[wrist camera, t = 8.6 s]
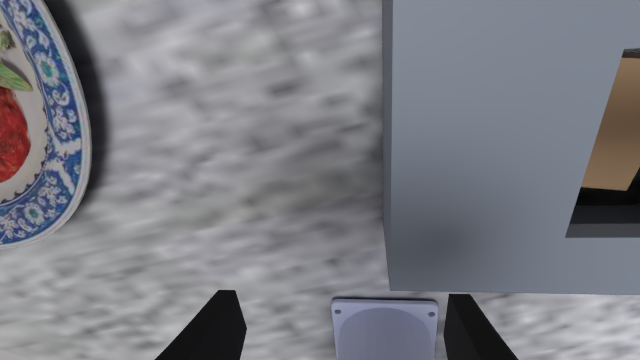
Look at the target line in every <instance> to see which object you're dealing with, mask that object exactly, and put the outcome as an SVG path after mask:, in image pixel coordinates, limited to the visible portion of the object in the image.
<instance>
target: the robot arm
mask: <svg viewBox="0 0 640 360" xmlns="http://www.w3.org/2000/svg"><path fill="white" fill-rule="evenodd" d="M337 309H338V310H337ZM331 311H332V320H333V330H334V339H335V348H336V358H337V360H435V356H434V350H435V341H436V331H437V322H438V313H439V307H438V304H437V303H436V302H434V301H405V300H361V299H334V300H333V301H332V303H331ZM430 312H431V313H430ZM246 330H247V327H246V324H245V321H244V318H243V314H242V311H241V308H240V304H239V301H238V298H237V295H236V291H235V290H218V291H217V292H216V293H215V295H214V296H213V297H212V298H211V299H210V300H209V301H208V302H207V304H206V305H205V306H204V307H203V308H202V309H201V310H200V312H199V313H198V314H197V315H196V316H195V317H194V318H193V319H192V321H191V322H190V323H189V324H188V325H187V326H186V327H185V328H184V329H183V330H182V332H181V333H180V334H179V335H178V336H177V337H176V338H175V339H174V340H173V341H172V342H171V343H170V345H169V346H168V347H167V348H166V349H165V350H164V351H163V352H162V353H161V354H160V355H159V356H158V357H157V358H156V359H155V360H240V356H241V352H242V348H243V344H244V340H245V335H246ZM444 341H445V347H446V352H447V357H448V360H518V358H517V357H516V356H515V355H514V353H513V352H512V351H511V350H510V348H509V347H508V346H507V345H506V343H505V342H504V341H503V339H502V338H501V337H500V335H499V334H498V333H497V331H496V330H495V329H494V327H493V326H492V325H491V323H490V322H489V321H488V319H487V318H486V316H485V315H484V313H483V312H482V311H481V309H480V308H479V306H478V305H477V303H476V302H475V300H474V299H473V297H472V296H471V295H469V294H449V298H448V306H447V313H446V320H445V328H444Z"/></svg>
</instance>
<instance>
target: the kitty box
mask: <svg viewBox="0 0 640 360" xmlns="http://www.w3.org/2000/svg"><path fill="white" fill-rule="evenodd" d="M382 39H383V226H384V236H385V246H386V255H387V265H388V275H389V285H390V291H443V292H497V293H550V294H604V295H640V205H592V206H575V204H576V200H577V197H578V194H579V191H580V188H581V184H582V181H583V178H584V175H585V172H586V169H587V165H588V162H589V159H590V156H591V153H592V149H593V146H594V143H595V140H596V137H597V134H598V130H599V127H600V124H601V121H602V118H603V115H604V111H605V108H606V105H607V102H608V99H609V95H610V92H611V89H612V86H613V83H614V80H615V76H616V73H617V70H618V67H619V64H620V60H621V57H622V54H623V51H624V49H634V48H640V0H382Z"/></svg>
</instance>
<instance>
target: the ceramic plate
mask: <svg viewBox="0 0 640 360" xmlns="http://www.w3.org/2000/svg"><path fill="white" fill-rule="evenodd" d="M91 160H92V139H91V127H90V121H89V115H88V108H87V104H86V101H85V97H84V93H83V89H82V85H81V82H80V79H79V76H78V74H77V71H76V68H75V65H74V62H73V59H72V57H71V55H70V52H69V50H68V48H67V46H66V43H65V41H64V39H63V36H62V34H61V32H60V30H59V28H58V26H57V24H56V22H55V20H54V19H53V17H52V15H51V13H50V11H49V9H48V7H47V5H46V4H45V2H44V0H0V249H9V248H17V247H21V246H25V245H30V244H33V243H35V242H38V241H40V240H42V239H44V238H46V237H48V236H50V235H51V234H53V233H54V232H55V231H57V230H58V229H59V228H60V227H61V226H62V225H63V224H64V223H65V222H66V221H67V220H68V219H69V218H70V217H71V216H72V215H73V213H74V212H75V211H76V209H77V208H78V206H79V204H80V202H81V200H82V198H83V196H84V194H85V190H86V187H87V184H88V181H89V175H90V170H91Z"/></svg>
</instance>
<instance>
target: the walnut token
mask: <svg viewBox="0 0 640 360" xmlns="http://www.w3.org/2000/svg"><path fill="white" fill-rule="evenodd" d="M639 167H640V53H625V52H623V54H622V57H621V60H620V64H619V67H618V70H617V73H616V76H615V80H614V83H613V86H612V89H611V92H610V95H609V99H608V102H607V105H606V108H605V111H604V115H603V118H602V121H601V124H600V127H599V130H598V134H597V137H596V140H595V143H594V146H593V149H592V153H591V156H590V159H589V162H588V165H587V169H586V172H585V175H584V178H583V181H582V184H581V187H588V188H600V189H612V190H624V191H627V189H628V187H629V185H630V184H631V182H632V180H633V178H634V176H635V175H636V173H637V171H638V169H639Z"/></svg>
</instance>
